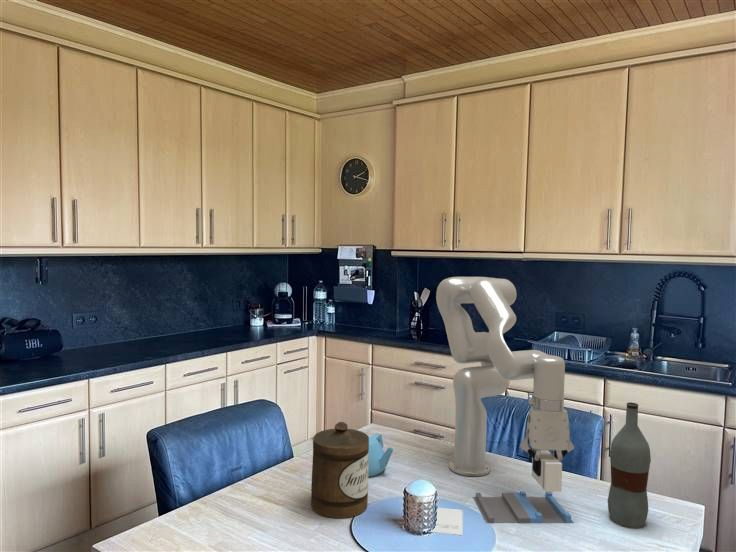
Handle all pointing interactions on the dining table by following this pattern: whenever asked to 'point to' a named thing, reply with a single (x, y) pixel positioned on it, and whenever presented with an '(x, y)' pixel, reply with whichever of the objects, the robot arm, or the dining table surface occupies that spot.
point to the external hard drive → (449, 521)
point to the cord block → (549, 472)
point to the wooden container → (340, 472)
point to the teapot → (377, 455)
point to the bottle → (629, 473)
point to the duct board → (521, 509)
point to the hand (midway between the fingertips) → (546, 473)
